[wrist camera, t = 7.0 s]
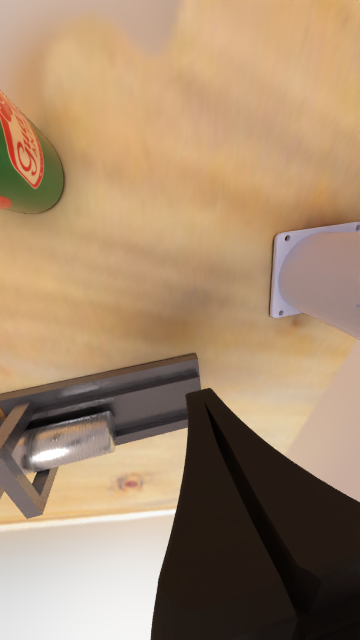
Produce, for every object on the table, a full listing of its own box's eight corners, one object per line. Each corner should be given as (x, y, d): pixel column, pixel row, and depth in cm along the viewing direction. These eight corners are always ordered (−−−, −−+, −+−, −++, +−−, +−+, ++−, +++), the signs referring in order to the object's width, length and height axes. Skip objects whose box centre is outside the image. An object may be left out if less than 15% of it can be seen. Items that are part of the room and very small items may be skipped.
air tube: (108, 402, 20) (103, 434, 17) (117, 427, 22) (113, 462, 19) (-39, 435, 19) (-76, 478, 16) (-19, 460, 20) (-49, 504, 17)
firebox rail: (195, 353, 21) (215, 395, 16) (201, 416, 25) (220, 468, 20) (-79, 410, 18) (-172, 487, 13) (-26, 473, 22) (-81, 553, 17)
